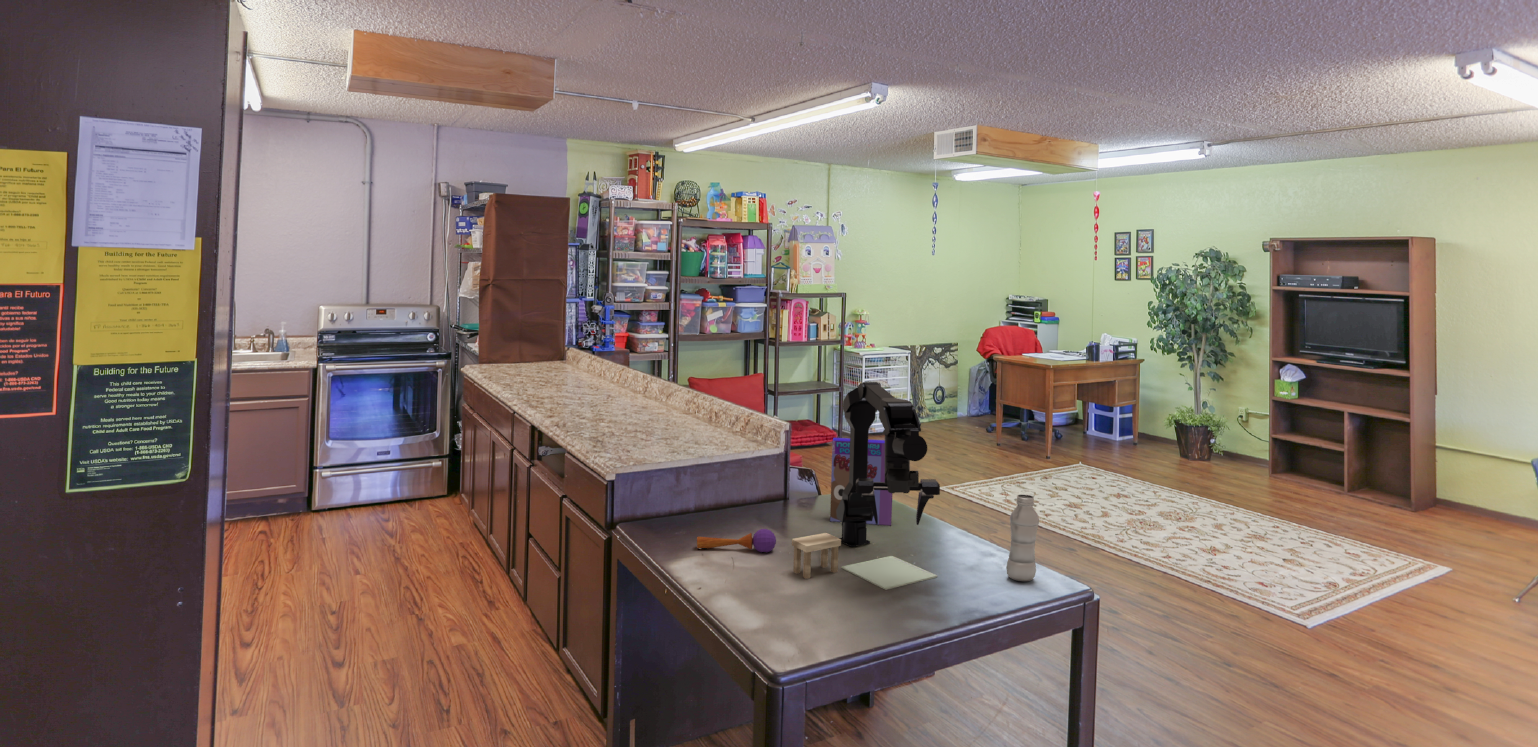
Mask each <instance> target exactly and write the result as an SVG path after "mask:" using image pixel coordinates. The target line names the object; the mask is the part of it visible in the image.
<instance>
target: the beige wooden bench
mask: <svg viewBox="0 0 1538 747" xmlns="http://www.w3.org/2000/svg"><path fill="white" fill-rule="evenodd" d="M839 538H840V537H839ZM839 538H838V537H836V536H834V535H832V534H829V533H827V532H822V533H816V534H812V535H807V536H800V537H795V538H792V539H791V547H792V546H793V569H792V570H793V573H794V574H796V575H797V574H801V565H802V564H803V570H802V572H803V573H802V578H804V579H805V580H807V579H808V580H809V579H811V573H812V572H811V566H812V564H811V562H812V552H816V551H820V568H822V569H824V568H828V563H829V562H828V561H829V560H828V558H829V549H830V550H831V552H830V572H831V573H833V574H834V573H838V571H839V570H838V569H839V547H841V546H842V542H841V539H839ZM802 551H803V563H801V562H802Z"/></svg>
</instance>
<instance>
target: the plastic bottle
mask: <svg viewBox="0 0 1538 747" xmlns="http://www.w3.org/2000/svg"><path fill="white" fill-rule="evenodd" d="M1034 499H1035V498H1034V496H1033V495H1031V494H1024V493H1023V494H1022V493H1021V494H1017V495H1016V501H1015V503H1016V505H1017V506H1016V507H1015V508H1014V509H1013V510H1012V511H1011V513H1010V515H1009V525H1010V547H1009V554H1008V559H1007V561H1006V568H1005V570H1006V575H1007V576H1008V577H1009V579H1011V580H1013V581H1017V582H1030V581H1032V580H1034V578H1035V577H1036V572H1037V565H1036V554H1035V553H1036V550H1035V549H1036V540H1037V533H1038V528H1039V524H1040V518H1039V515H1038V513H1037V511H1036V510H1035V508H1034V505H1035V500H1034Z"/></svg>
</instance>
